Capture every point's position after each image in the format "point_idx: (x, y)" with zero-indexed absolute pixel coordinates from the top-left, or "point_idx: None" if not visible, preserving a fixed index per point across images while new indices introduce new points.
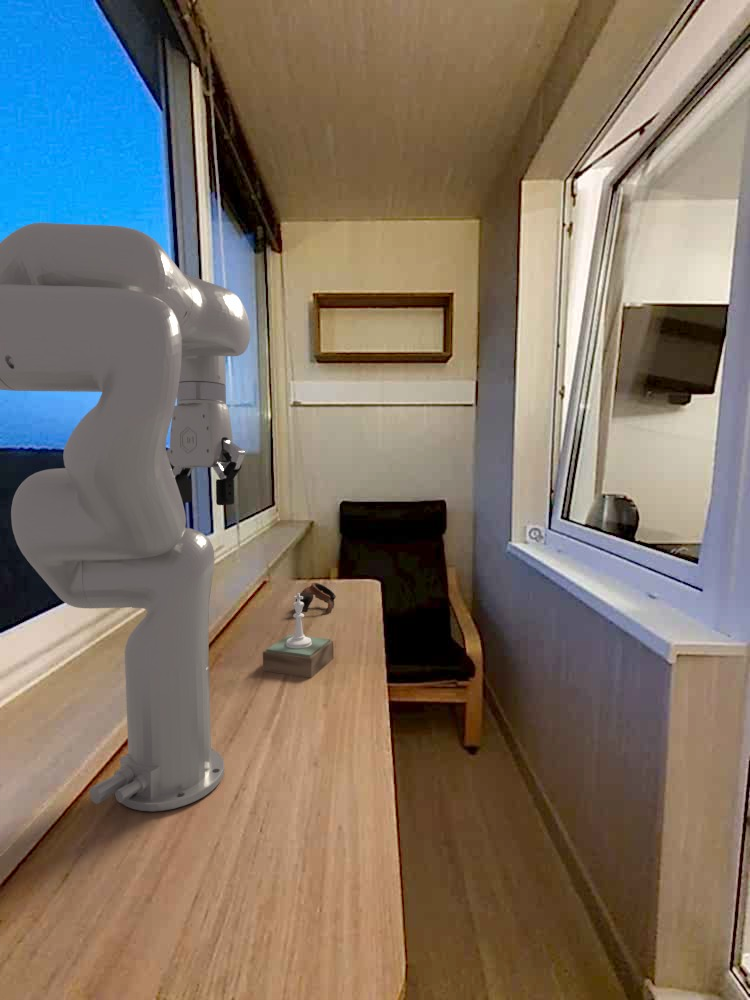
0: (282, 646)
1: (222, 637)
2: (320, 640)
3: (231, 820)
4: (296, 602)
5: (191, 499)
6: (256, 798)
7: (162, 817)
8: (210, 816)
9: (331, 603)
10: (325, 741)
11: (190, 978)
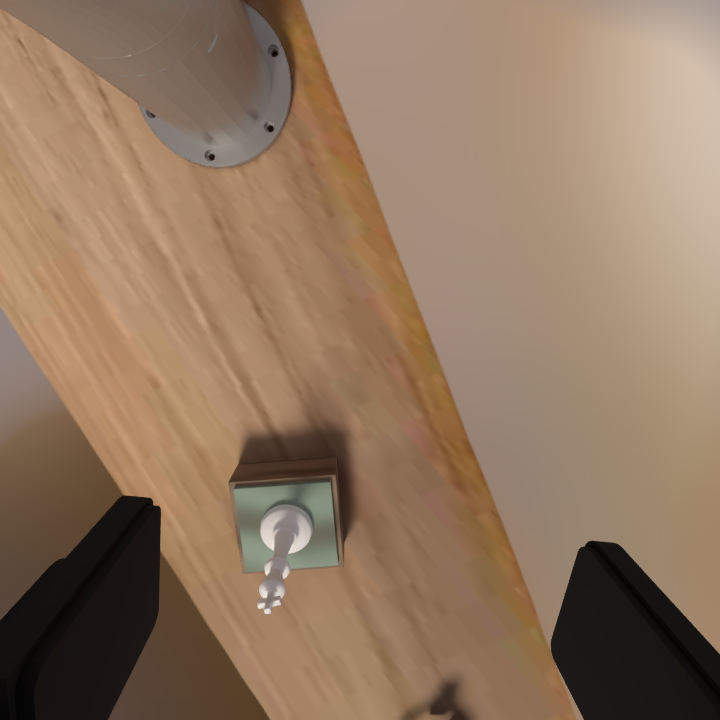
0: (309, 505)
1: (513, 557)
2: (259, 559)
3: None
4: (274, 588)
5: (558, 661)
6: (74, 102)
7: None
8: None
9: None
10: (83, 279)
11: None
